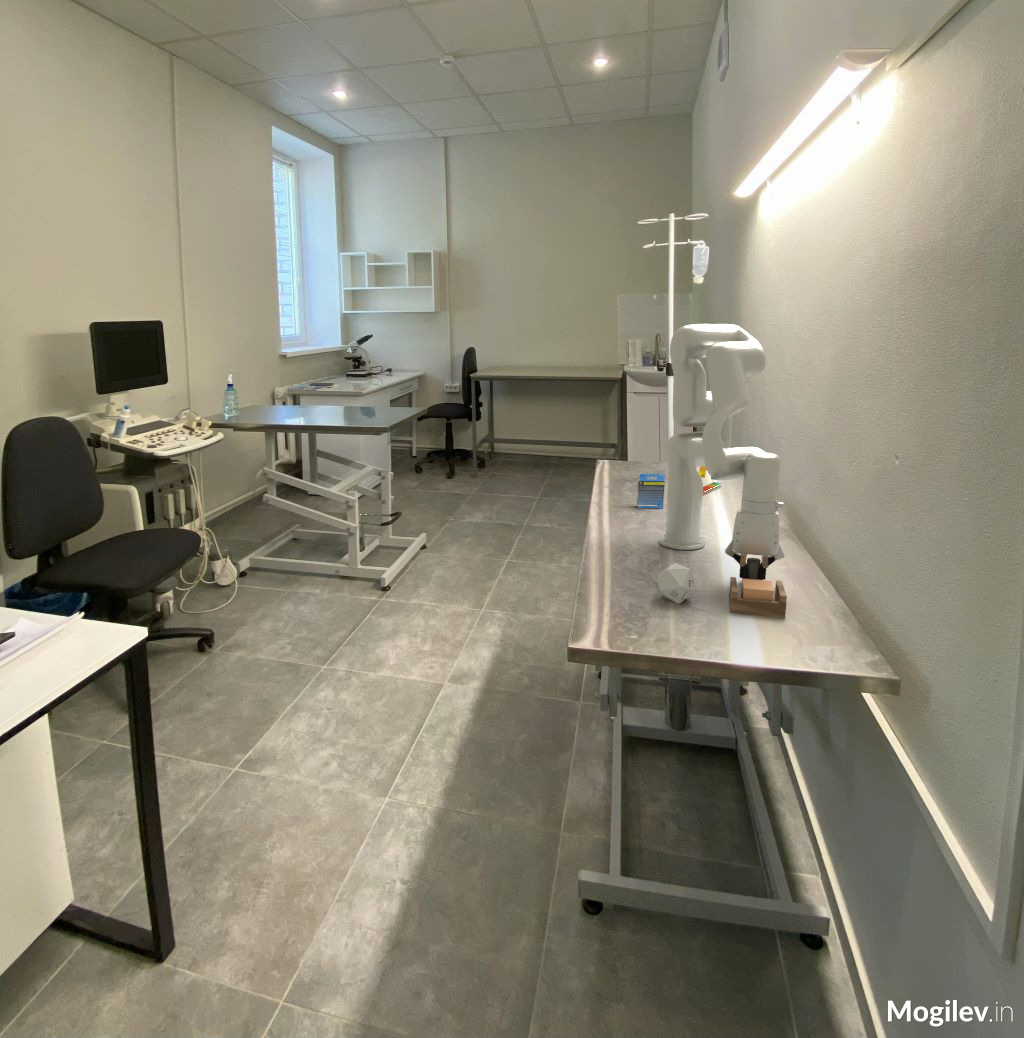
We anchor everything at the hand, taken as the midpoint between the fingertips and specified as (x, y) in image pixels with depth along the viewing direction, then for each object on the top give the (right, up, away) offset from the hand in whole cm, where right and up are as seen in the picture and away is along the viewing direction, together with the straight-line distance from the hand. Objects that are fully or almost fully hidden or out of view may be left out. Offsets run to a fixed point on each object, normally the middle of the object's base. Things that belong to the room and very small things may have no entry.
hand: (751, 580), depth 156 cm
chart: (+14, +23, +89) cm, 94 cm away
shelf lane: (-4, -4, -13) cm, 14 cm away
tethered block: (-2, -3, -7) cm, 8 cm away
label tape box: (-9, +18, +71) cm, 74 cm away
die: (-20, -4, -8) cm, 22 cm away
